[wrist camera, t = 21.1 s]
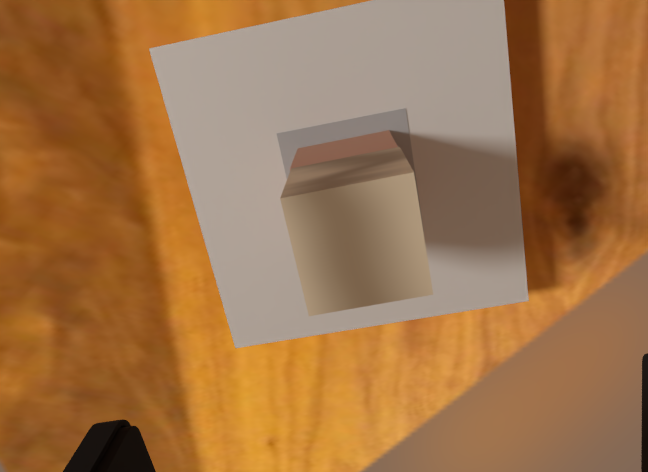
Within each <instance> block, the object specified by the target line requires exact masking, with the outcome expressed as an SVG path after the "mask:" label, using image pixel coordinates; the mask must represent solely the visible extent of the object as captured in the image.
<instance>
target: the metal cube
mask: <svg viewBox="0 0 648 472" xmlns="http://www.w3.org/2000/svg"><path fill="white" fill-rule="evenodd" d="M280 200H281V204H282V208H283V212H284V217H285V221H286V225H287V229H288V233H289V237H290V241H291V245H292V249H293V253H294V257H295V261H296V266H297V270H298V274H299V278H300V282H301V286H302V290H303V294H304V298H305V302H306V306H307V310H308V315H309V316H314V315H319V314H325V313H331V312H337V311H342V310H348V309H354V308H359V307H365V306H371V305H377V304H382V303H388V302H394V301H400V300H405V299H411V298H417V297H422V296H428V295H433V290H432V283H431V277H430V271H429V264H428V258H427V252H426V245H425V239H424V233H423V226H422V220H421V214H420V207H419V201H418V195H417V188H416V182H415V176H414V171H413V170H412V168H411V166H410V164H409V162H408V161H407V159H406V157H405V155H404V153H403V151H402V150H401V148H400V147H395V148H390V149H385V150H380V151H375V152H370V153H365V154H360V155H355V156H350V157H346V158H341V159H336V160H331V161H326V162H321V163H316V164H311V165H306V166H301V167H296V168H291V171H290V173H289V176H288V179H287V181H286V184H285V187H284V189H283V192H282V195H281V197H280Z"/></svg>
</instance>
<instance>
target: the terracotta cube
mask: <svg viewBox="0 0 648 472" xmlns="http://www.w3.org/2000/svg"><path fill="white" fill-rule="evenodd" d="M395 147H398V146H397V144H396V142H395V141H394V139H393V137H392V135H391V133H390V131H389V130H387V131H382V132H377V133H372V134H367V135H362V136H357V137H352V138H347V139H342V140H337V141H332V142H327V143H322V144H317V145H312V146H307V147H302V148H298V149H297V151H296V154H295V157H294V159H293V162H292V164H291V167H290V171H291V168H296V167H301V166H306V165H311V164H316V163H321V162H326V161H331V160H336V159H341V158H346V157H350V156H355V155H360V154H365V153H370V152H375V151H380V150H385V149H390V148H395Z"/></svg>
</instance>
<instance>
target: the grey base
mask: <svg viewBox="0 0 648 472" xmlns="http://www.w3.org/2000/svg"><path fill="white" fill-rule="evenodd" d="M149 50H150V54H151V57H152V61H153V64H154V68H155V71H156V75H157V78H158V82H159V85H160V88H161V92H162V95H163V99H164V102H165V106H166V109H167V113H168V116H169V120H170V123H171V127H172V130H173V133H174V137H175V140H176V144H177V147H178V151H179V154H180V158H181V161H182V165H183V168H184V172H185V175H186V179H187V182H188V185H189V189H190V192H191V196H192V199H193V203H194V206H195V210H196V213H197V217H198V220H199V224H200V227H201V230H202V234H203V237H204V241H205V244H206V248H207V251H208V255H209V258H210V262H211V265H212V269H213V272H214V275H215V279H216V282H217V286H218V289H219V293H220V296H221V300H222V303H223V307H224V310H225V314H226V317H227V320H228V324H229V327H230V331H231V334H232V338H233V341H234V345H235V348H240V347H246V346H252V345H258V344H264V343H271V342H277V341H283V340H289V339H295V338H302V337H308V336H314V335H320V334H326V333H333V332H339V331H345V330H351V329H357V328H364V327H370V326H376V325H382V324H388V323H395V322H401V321H407V320H413V319H419V318H426V317H432V316H438V315H444V314H451V313H457V312H463V311H469V310H475V309H482V308H488V307H494V306H500V305H506V304H513V303H519V302H525V301H529V299H528V287H527V275H526V263H525V251H524V238H523V226H522V214H521V202H520V190H519V178H518V165H517V153H516V141H515V129H514V117H513V104H512V92H511V80H510V68H509V56H508V43H507V31H506V19H505V7H504V0H372V1H368V2H363V3H358V4H354V5H349V6H345V7H340V8H335V9H331V10H326V11H321V12H317V13H312V14H308V15H303V16H298V17H294V18H289V19H284V20H280V21H275V22H270V23H266V24H261V25H257V26H252V27H247V28H243V29H238V30H233V31H229V32H224V33H219V34H215V35H210V36H206V37H201V38H196V39H192V40H187V41H182V42H178V43H173V44H169V45H164V46H159V47H155V48H150V49H149ZM387 130H389V131H390V133H391V135H392V137H393V139H394V141H395V142H396V144H397V146H398V147H400V148H401V150H402V151H403V153H404V155H405V157H406V159H407V161H408V162H409V164H410V166H411V168H412V170H413V171H414V176H415V182H416V188H417V195H418V201H419V207H420V214H421V220H422V226H423V233H424V239H425V245H426V252H427V258H428V264H429V271H430V277H431V283H432V290H433V295H428V296H422V297H417V298H411V299H405V300H400V301H394V302H388V303H382V304H377V305H371V306H365V307H359V308H354V309H348V310H342V311H337V312H331V313H325V314H319V315H314V316H309V315H308V310H307V306H306V302H305V298H304V294H303V290H302V286H301V282H300V278H299V274H298V270H297V266H296V261H295V257H294V253H293V249H292V245H291V241H290V237H289V233H288V229H287V225H286V221H285V217H284V212H283V208H282V204H281V200H280V197H281V195H282V192H283V189H284V187H285V184H286V181H287V179H288V176H289V173H290V167H291V164H292V162H293V159H294V157H295V154H296V151H297V149H298V148H302V147H307V146H312V145H317V144H322V143H327V142H332V141H337V140H342V139H347V138H352V137H357V136H362V135H367V134H372V133H377V132H382V131H387Z"/></svg>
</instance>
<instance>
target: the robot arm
mask: <svg viewBox="0 0 648 472" xmlns="http://www.w3.org/2000/svg"><path fill="white" fill-rule="evenodd" d="M63 472H156V471H155V469H154V466H153V464H152V461H151V459H150V456H149V454H148V451H147V449H146V446H145V443H144V441H143V438H142V436H141V433H140V431H139V429H138V428H137V427H136V426H131V425H130V423H129V422H128V421H126V420H116V421H109V422H102V423H97V424H94V425H93V426H92V427H91V428H90V430H89V431H88V433H87V434H86V436H85V437H84V439H83V441H82V442H81V444H80V445H79V447H78V449H77V450H76V452H75V453H74V455H73V456H72V458H71V460H70V461H69V463H68V464H67V466H66V468H65V469H64V471H63ZM642 472H648V354H645V355H644V356H643V361H642Z"/></svg>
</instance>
